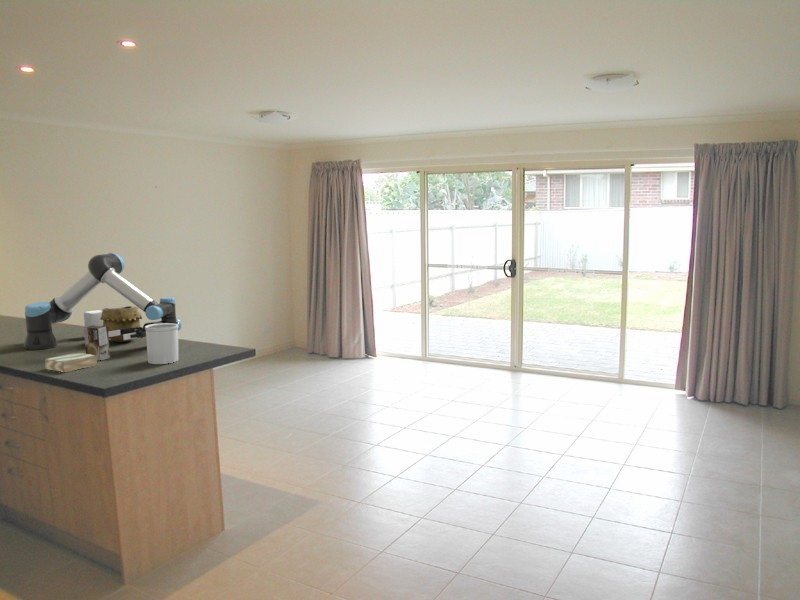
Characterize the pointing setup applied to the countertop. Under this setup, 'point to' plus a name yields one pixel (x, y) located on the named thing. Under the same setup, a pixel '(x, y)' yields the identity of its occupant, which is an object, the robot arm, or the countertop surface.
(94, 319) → the white canister
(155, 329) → the utensil holder
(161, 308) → the robot arm
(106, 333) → the coffee box
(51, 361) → the base block
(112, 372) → the countertop surface
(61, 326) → the countertop surface
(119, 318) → the clay pot
